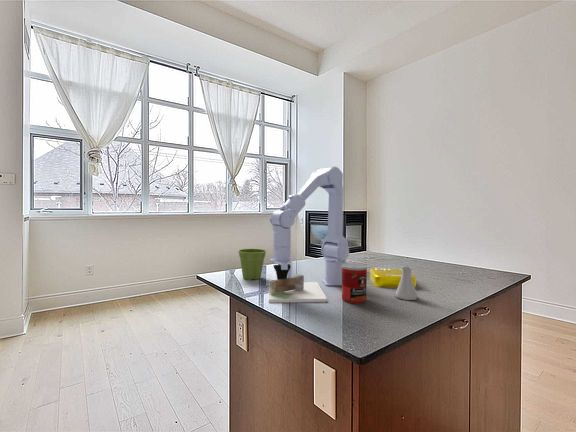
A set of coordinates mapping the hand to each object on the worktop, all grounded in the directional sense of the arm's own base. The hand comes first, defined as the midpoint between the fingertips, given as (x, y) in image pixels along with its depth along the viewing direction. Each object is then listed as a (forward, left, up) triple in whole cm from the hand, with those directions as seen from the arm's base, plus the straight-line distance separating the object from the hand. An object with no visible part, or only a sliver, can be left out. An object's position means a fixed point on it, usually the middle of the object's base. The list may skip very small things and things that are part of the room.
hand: (281, 286), depth 102 cm
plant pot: (+11, -22, -3) cm, 25 cm away
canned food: (-23, +7, -3) cm, 24 cm away
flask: (-41, +5, -3) cm, 41 cm away
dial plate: (-5, -1, -3) cm, 6 cm away
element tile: (-43, -14, -3) cm, 46 cm away
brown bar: (-2, +1, -1) cm, 2 cm away
